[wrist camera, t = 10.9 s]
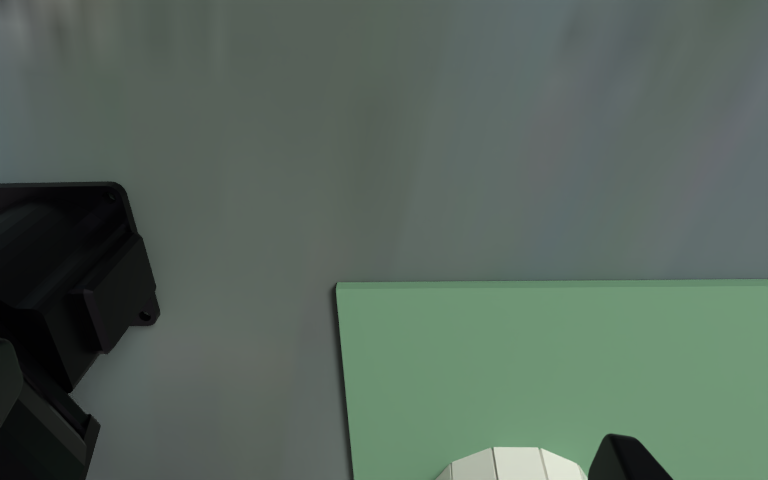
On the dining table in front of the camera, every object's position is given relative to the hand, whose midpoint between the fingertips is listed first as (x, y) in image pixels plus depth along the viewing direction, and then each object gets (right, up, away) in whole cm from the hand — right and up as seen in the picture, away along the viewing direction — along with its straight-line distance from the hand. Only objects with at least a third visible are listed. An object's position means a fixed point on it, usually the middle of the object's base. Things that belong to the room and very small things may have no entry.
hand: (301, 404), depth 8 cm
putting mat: (+11, -8, +19) cm, 23 cm away
